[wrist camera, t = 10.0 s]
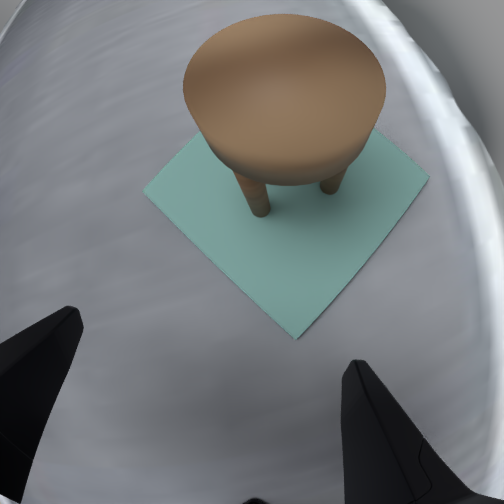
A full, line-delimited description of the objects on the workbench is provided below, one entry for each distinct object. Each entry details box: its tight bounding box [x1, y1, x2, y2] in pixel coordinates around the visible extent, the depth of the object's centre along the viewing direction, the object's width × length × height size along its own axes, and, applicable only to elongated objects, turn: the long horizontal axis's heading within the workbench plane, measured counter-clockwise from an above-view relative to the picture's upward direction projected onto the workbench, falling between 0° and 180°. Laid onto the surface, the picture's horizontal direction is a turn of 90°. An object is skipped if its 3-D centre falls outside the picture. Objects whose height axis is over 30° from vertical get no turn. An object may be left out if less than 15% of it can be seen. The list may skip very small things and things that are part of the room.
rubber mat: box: [142, 128, 430, 340], centre depth 18 cm, size 14×14×1 cm
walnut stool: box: [183, 14, 386, 218], centre depth 13 cm, size 7×7×10 cm
